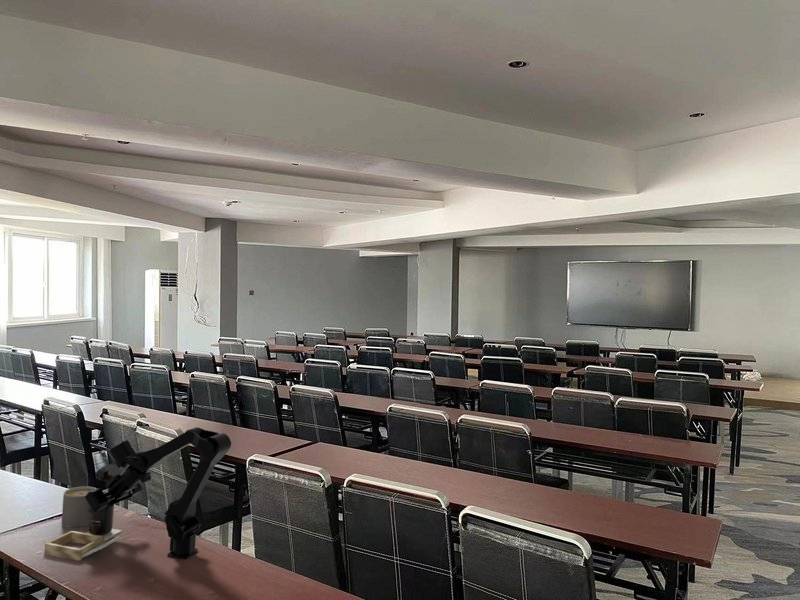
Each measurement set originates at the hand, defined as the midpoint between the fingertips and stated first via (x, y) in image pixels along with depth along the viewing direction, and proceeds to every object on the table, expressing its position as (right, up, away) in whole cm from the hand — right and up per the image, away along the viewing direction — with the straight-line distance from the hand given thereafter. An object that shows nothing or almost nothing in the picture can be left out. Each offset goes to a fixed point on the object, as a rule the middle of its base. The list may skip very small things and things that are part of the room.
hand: (98, 508), depth 184 cm
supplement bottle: (+1, -7, 0) cm, 8 cm away
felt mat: (+1, -8, 0) cm, 8 cm away
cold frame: (-1, -8, -12) cm, 14 cm away
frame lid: (+8, -9, -14) cm, 18 cm away
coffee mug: (-10, -8, +8) cm, 15 cm away
